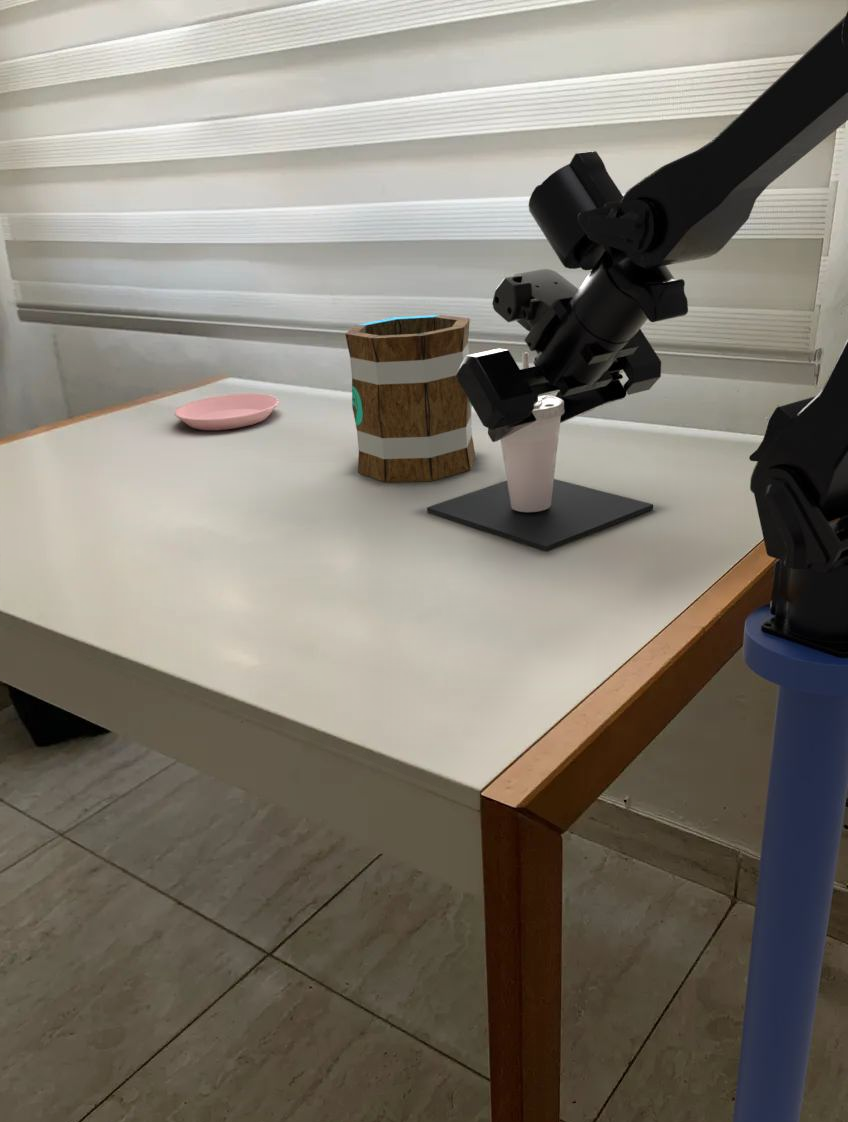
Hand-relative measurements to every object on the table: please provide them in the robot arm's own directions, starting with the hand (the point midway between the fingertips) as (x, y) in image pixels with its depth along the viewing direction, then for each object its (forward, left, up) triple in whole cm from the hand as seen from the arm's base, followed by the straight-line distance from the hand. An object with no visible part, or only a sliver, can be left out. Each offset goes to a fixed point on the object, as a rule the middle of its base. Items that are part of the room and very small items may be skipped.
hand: (520, 430), depth 94 cm
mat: (-1, -1, -8) cm, 8 cm away
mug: (+23, -5, -8) cm, 25 cm away
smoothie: (-1, 0, -7) cm, 7 cm away
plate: (+58, -1, -8) cm, 58 cm away
